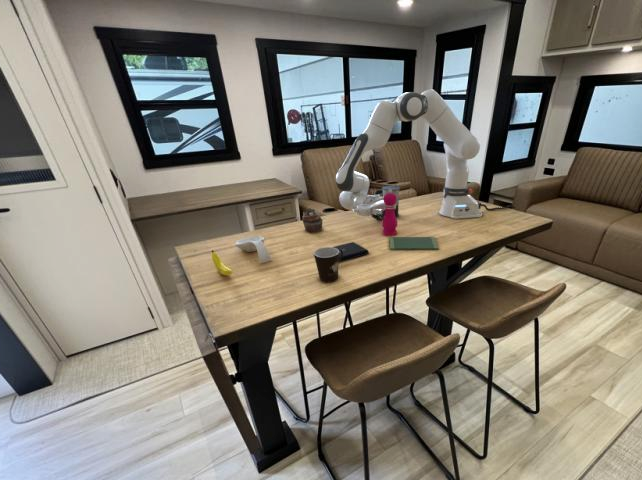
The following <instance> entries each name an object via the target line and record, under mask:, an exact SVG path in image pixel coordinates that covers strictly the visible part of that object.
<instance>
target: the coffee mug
mask: <svg viewBox="0 0 642 480" xmlns="http://www.w3.org/2000/svg"><path fill="white" fill-rule="evenodd" d="M332 247H333V246H332ZM332 247H331V246H325V247H320V248H317V249H315V250H314V251H313V257H314V261H315V265H316V269H317V272H318V277H319V281H320V282H322V283H326V284H328V283H333V282H336V281H337V280H338V279H339V264H340V262H341V261H340V260H341V258H342V256H343V251H342V250H341V249H336V248H332ZM339 251H341V257H340V259H339Z"/></svg>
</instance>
